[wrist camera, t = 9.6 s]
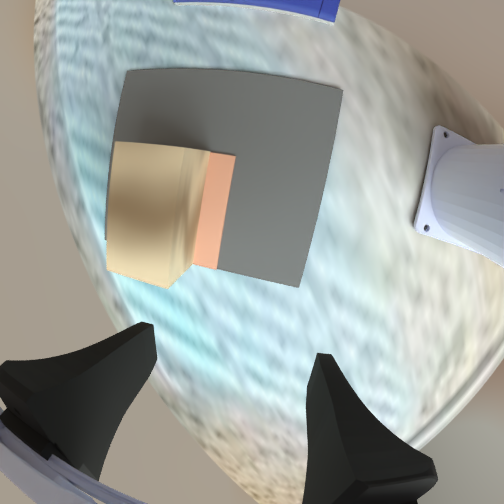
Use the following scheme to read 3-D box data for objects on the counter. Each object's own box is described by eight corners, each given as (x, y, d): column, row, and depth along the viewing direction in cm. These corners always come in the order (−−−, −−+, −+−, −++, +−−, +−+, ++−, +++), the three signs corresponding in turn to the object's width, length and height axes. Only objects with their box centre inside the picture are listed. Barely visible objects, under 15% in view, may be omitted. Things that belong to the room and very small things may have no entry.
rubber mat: (342, 91, 15) (343, 90, 15) (298, 285, 20) (298, 287, 19) (129, 72, 17) (127, 70, 16) (107, 238, 21) (104, 239, 21)
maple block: (193, 263, 20) (167, 289, 16) (140, 249, 20) (106, 269, 16) (210, 151, 17) (184, 147, 13) (151, 144, 18) (115, 141, 13)
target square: (236, 156, 17) (235, 156, 17) (216, 268, 20) (216, 269, 20) (132, 143, 18) (131, 143, 18) (123, 245, 20) (122, 245, 20)
